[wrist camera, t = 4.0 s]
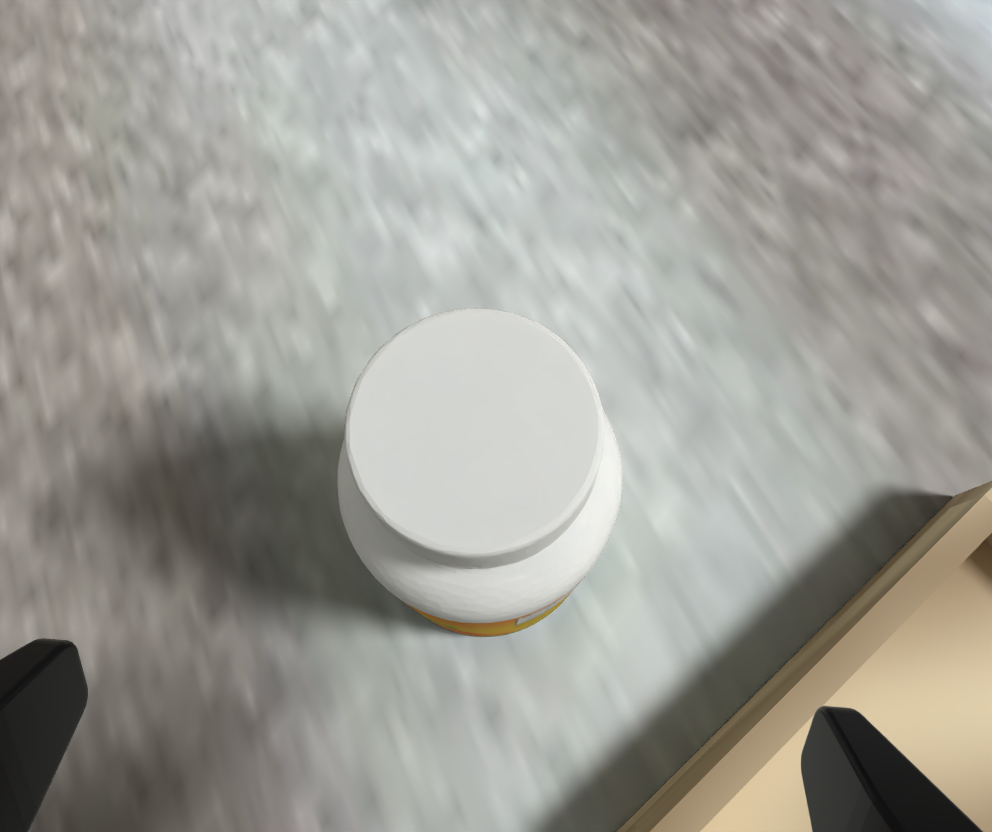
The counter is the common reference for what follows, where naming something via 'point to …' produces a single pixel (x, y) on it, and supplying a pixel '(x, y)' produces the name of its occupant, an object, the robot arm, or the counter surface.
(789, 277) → the counter surface
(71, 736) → the robot arm
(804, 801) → the tray
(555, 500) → the supplement bottle
